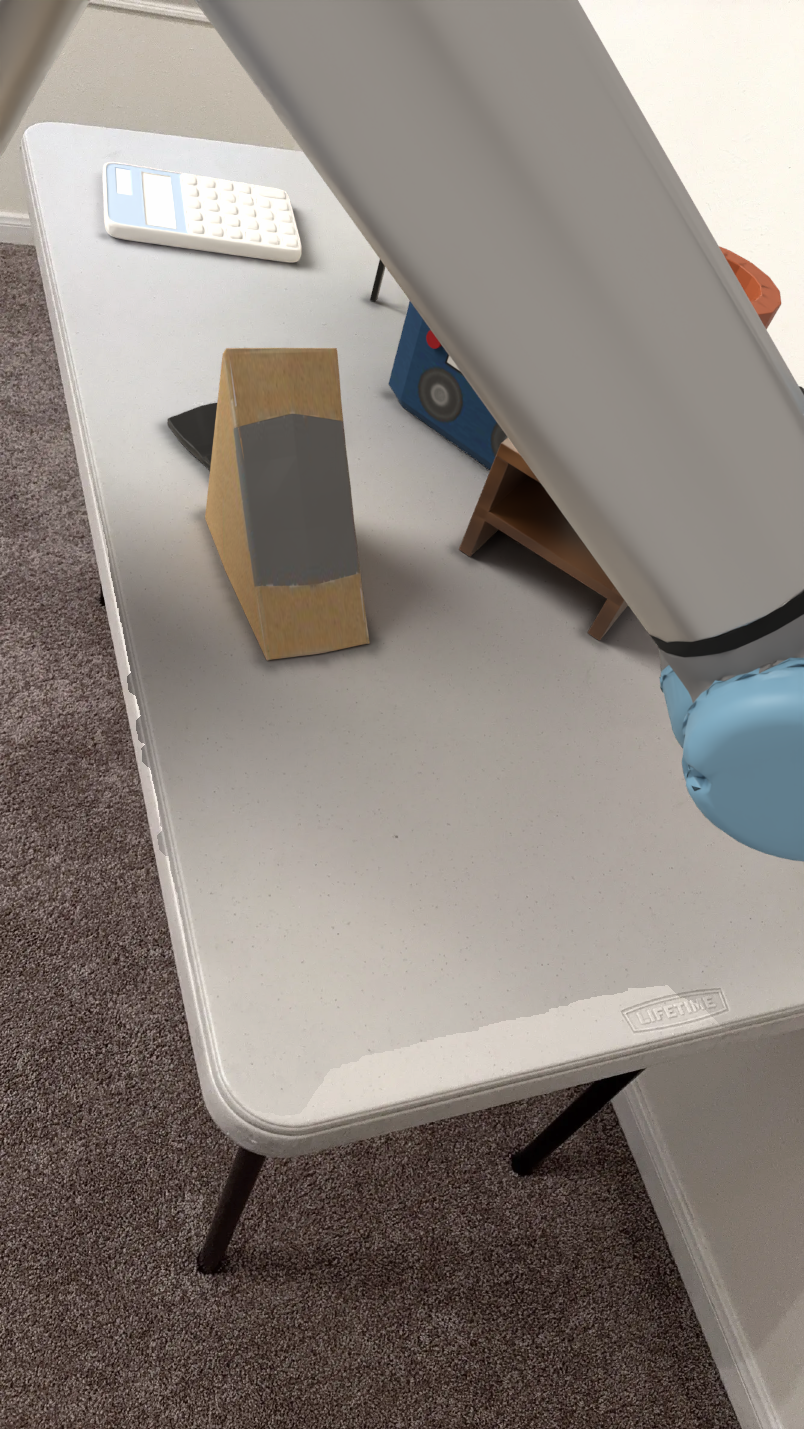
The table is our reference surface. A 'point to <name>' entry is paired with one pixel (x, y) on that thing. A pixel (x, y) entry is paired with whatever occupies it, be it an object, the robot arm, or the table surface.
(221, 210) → the calculator
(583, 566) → the shelf
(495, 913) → the table surface
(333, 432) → the sandwich container
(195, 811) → the table surface
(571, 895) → the table surface
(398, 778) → the table surface
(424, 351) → the radio
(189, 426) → the dark sector wedge
